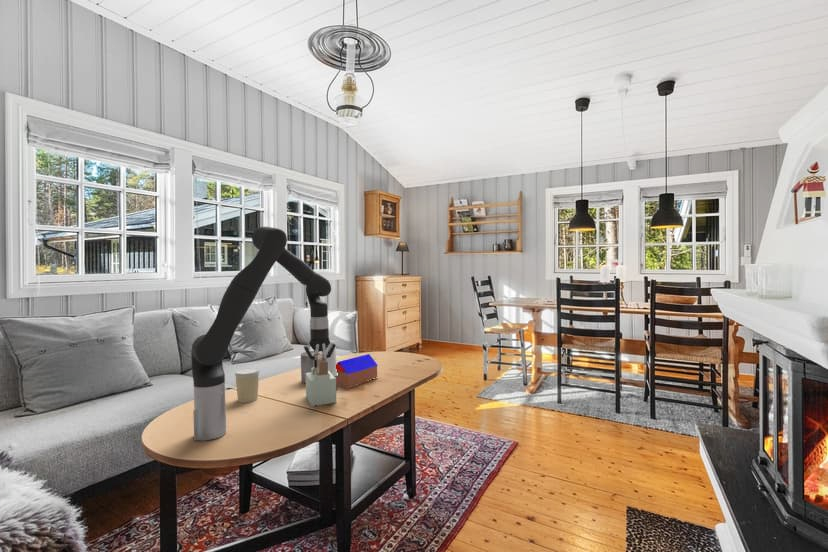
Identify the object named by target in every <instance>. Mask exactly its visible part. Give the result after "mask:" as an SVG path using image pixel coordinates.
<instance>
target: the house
mask: <svg viewBox="0 0 828 552" xmlns="http://www.w3.org/2000/svg"><path fill="white" fill-rule="evenodd" d="M335 365H336V369H337V373H338V376H337V377H335V378H336V386H338V385H339V387H342V386H343V387H342V388H346V387H349V388H351V387H350V386H352V387H354V386H353V385H356V384H359V383H362V382H365V381H367V380H370V379H373V378H376V377H377V378H378V366H379V365H378V364H377V362H376V361H375V360H374V358H373V357H372V356H371V354H370V353H367V354H363V355H360V356H357V357H352V358H347V359H344V360H339V361H338V362H337V363H336V364H335ZM365 383H366V382H365ZM362 384H363V383H362ZM359 385H360V384H359ZM356 386H357V385H356Z"/></svg>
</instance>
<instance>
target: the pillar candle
mask: <svg viewBox="0 0 828 552" xmlns="http://www.w3.org/2000/svg"><path fill="white" fill-rule="evenodd" d="M309 351H310V353H311V355H312V356H313V355H314V350H309ZM319 352H320V351H319ZM319 352H318V355H319V354H320V353H319ZM299 354H300V375H301V379H300V380H301V383H302V384H306V373H311V368H314V367H313V359H310V358H309V356H308V354H307V353H306V351H304V352H301V353H299Z"/></svg>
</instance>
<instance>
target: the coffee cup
mask: <svg viewBox="0 0 828 552" xmlns="http://www.w3.org/2000/svg"><path fill="white" fill-rule="evenodd" d="M234 375H235V376H234V377H235V384H236V385H235V386H236V393H237V402H239V403H250V402H254V401H257V399H259V398H258V397H259V380H260V379H259V375H260V371H259V369H258V368H244V369H240V370H237V371H236V372H235V374H234Z"/></svg>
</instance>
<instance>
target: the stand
mask: <svg viewBox="0 0 828 552" xmlns="http://www.w3.org/2000/svg"><path fill="white" fill-rule="evenodd" d="M305 397H306V399H307V401H308V402H310V403H309V405H310V407H315V405H317V406H323V404H324V405H331V404H336V403H337V385H336V378H335V377H334V376H333V374H332V371H330V370H329V369H328V374H327V375H319V374H318V373H317V371H316V370H315V368H311V373H306V383H305Z"/></svg>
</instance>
